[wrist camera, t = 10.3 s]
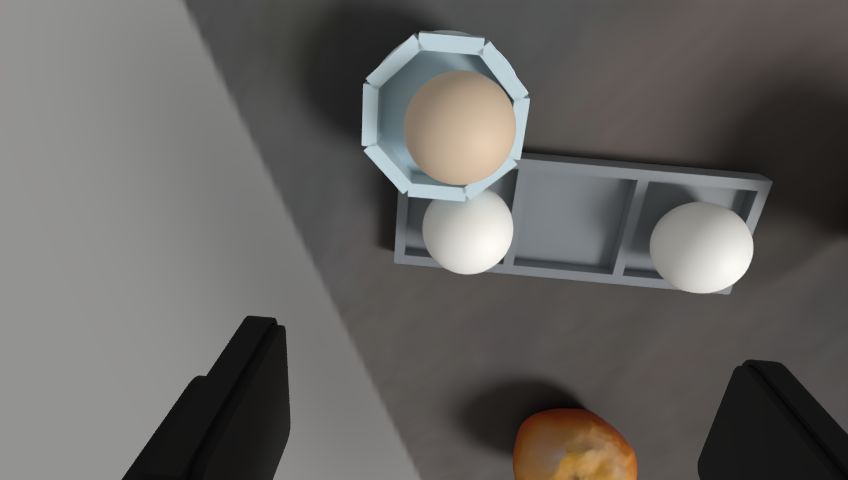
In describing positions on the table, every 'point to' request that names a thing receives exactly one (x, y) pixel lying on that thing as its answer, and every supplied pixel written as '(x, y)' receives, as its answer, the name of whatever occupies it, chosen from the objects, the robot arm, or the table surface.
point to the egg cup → (399, 84)
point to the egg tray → (590, 215)
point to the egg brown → (459, 127)
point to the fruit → (571, 448)
